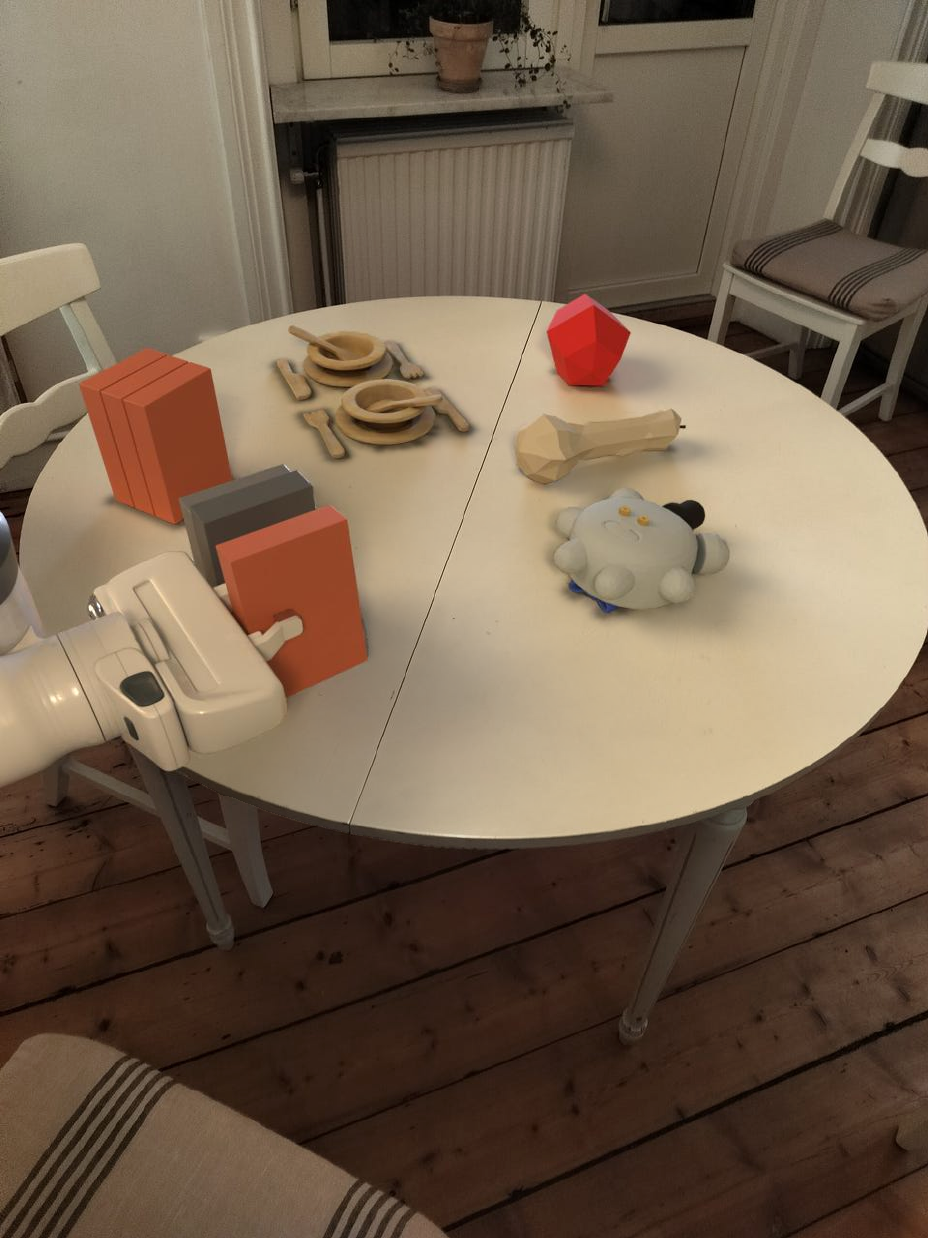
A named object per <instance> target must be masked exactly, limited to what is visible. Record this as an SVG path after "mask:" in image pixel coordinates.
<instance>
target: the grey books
mask: <svg viewBox="0 0 928 1238" xmlns="http://www.w3.org/2000/svg"><path fill="white" fill-rule="evenodd" d="M232 480H233V481H230V482H227V483H224V484H221V485H218V486H215V487H212V488H209V489H206V490H202V491H199V492H196V493H193V494H190V495H187V496H184V497H181V498H179V503H180V507H181V511H182V515H183V519H182V520H183V522H184V526H185V530H186V534H187V538H188V543H189V545H190V550H191V553H192V558H193V562H194V564H195V565H196V566H197V568H198V569H199V571H200V572H201V573H202V575H203V576H204V577H205V579H206V580H207V581H208V583H209V584H210V586H211V587H212V588H214V587H216V586H219V585H222V584H224V583H225V580H224V576H223V572H222V568H221V564H220V561H219V557H218V553H217V549H216V545H219V544H221V543H224V542H227V541H230V540H233V539H235V538H238V537H241V536H244V535H246V534H249V533H252V532H255V531H258V530H260V529H263V528H266V527H269V526H272V525H274V524H277V523H280V522H283V521H286V520H288V519H291V518H294V517H297V516H300V515H302V514H305V513H308V512H311V511H314V510H316V501H315V494H314V493H315V492H314V485H313V484H312V483H311V482H310V481H309V480H308V479H307V478H306V477H305V476H304V475H303V474H302V473H301V472H300V471H299V469H295V470H293V471H291V470H290V469H289V468H288V467H287V466H286V465H285V464H284V463H282V464H278V465H276V466H273V467H269V468H267V469H264V470H260V471H257V472H255V473H251V474H248V475H246V476H242V477H239V478H236V479H232ZM231 614H232V616H233V617H234V614H233V612H232V613H231ZM234 619H235V618H234Z"/></svg>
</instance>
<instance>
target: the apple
mask: <svg viewBox="0 0 928 1238" xmlns="http://www.w3.org/2000/svg"><path fill="white" fill-rule="evenodd" d="M631 334H632V332H631V331H630V330H629V329H628V328H627V327H626V326H625V325H624V324H623V323H622V322H621V321H620V320H619V319H618V318H617V317H616V316H615V315H614V314H613V313H612V312H611V311H610V310H609V309H607V308H606V307H605V306H603V304H600V303H599V302H598V301H596V300H595V299H594V298H593V297H591V296H589V295H588V294H586V293H584V294H581V296H579V297H577V298H575V299H573V300H572V301H570V302H569V303H568V302H567V304H565V305H563V306H562V307H559V308H558V309H556V311H555V313H554V315H553V317H552V319H551V321H550V323H549V326H548V327H547V330H546V335H547V339H548V343H549V347H550V351H551V354H552V359H553V363H554V367H555V370H556V373H557V374H558V375H559V376H560V377H561V378H562V379H563V380H564V381H565V382H566V384H568V385H569V386H602V387H603V386H605V385H606V383H607V382H608V380H609V379H610V377H611V375H612V374H613V372H614V370H615V369H616V367H617V366H618V364H619V363H620V361H621V360H622V357H623V355H624V353H625V349H626V348H627V344H628V342H629V338H630V336H631Z"/></svg>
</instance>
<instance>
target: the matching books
mask: <svg viewBox="0 0 928 1238" xmlns="http://www.w3.org/2000/svg"><path fill="white" fill-rule="evenodd" d="M78 386H79V390H80V393H81V396H82V398H83V402H84V405H85V409H86V411H87V414H88V417H89V421H90V424H91V428H92V430H93V434H94V436H95V439H96V442H97V447H98V449H99V453H100V456H101V459H102V463H103V465H104V468H105V471H106V474H107V477H108V482H109V484H110V487H111V490H112V493H113V497H114V500H115V501H116V502H119V503H122V504H123V505H127V506H129V507H131V508H135V509H136V510H139V511H141V512H144V513H146V514H148V515H151V516H154V517H156V518H157V519H161V520H162V521H166V522H168V523H170V524H173V525H177V524H178V523H180V522H181V521H182V520H184V519H183V515H182V511H181V507H180V503H179V498H181V497H184V496H187V495H190V494H193V493H196V492H199V491H202V490H206V489H209V488H212V487H215V486H218V485H221V484H224V483H227V482H230V481H233V480H234V479H233V475H232V470H231V466H230V465H231V464H230V459H229V455H228V450H227V444H226V439H225V434H224V429H223V424H222V419H221V414H220V409H219V404H218V399H217V393H216V389H215V382H214V379H213V372H212V368H211V367H207V366H205V365H202V364H198V363H195V362H192V361H189V360H186V359H183V358H180V357H178V356H173V355H171V354H167V353H165V352H161V351H158V350H155V349H153V348H152V349H151V348H149V347H146V348H144V349H142V350H140V351H138V352H137V353H135V354H133V355H131V356H129V357H127V358H125V359H123V360H121V361H119V362H117V363H115V364H114V365H112V366H110V367H108V368H106V369H104V370H102V371H100V372H98V373H96V374H94V375H92V376H89V378H86V379H84V380H83V381H81V382H79V383H78Z"/></svg>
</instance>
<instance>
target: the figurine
mask: <svg viewBox="0 0 928 1238" xmlns="http://www.w3.org/2000/svg"><path fill="white" fill-rule="evenodd" d="M705 520H706V511H705V508H704V506H703V505H702V504H701V503H700V502H698V501H697V500H694V499H687V500H684V501H682V502H680V503H678V502H674V501H673V502H668V503H666V504H665V503H664V504H663V505H660V504H657V503H655V502H652V501H648V500H646V499H644V497H643V496H642V494H640V493H639V491H637V490H635V489H633V488H628V487H627V488H626V487H624V488H619V489H617V490H615V491H614V492H613V493H612V494H611V495H610V496H609V497H608V498H606V499H603V500H599V501H597V502H594V503H592V504H590V505H589V506H587V507H585V508H581V507H578V506H568V507H566V508H564V509H563V510H562V511H561V512H560V513H559V514H558V515H557V518H556V529H557V532H558V533H559V534H560V535H561V536H563V538H565V539H567V540H568V541H566V542H565V543H564V542H563V544H561V545H560V546H559V547H558V548H557V549H556V551H555V553H554V557H553V559H554V565H555V566H556V568H557V569H558V570H559V571H561V573H565V574H569V576H570V578H571V581H570V582H569V584H568V588H569V590H571V591H572V592H573V593H584V594H585V595H586V596H588V597H589V598H591V599H592V600H594V601H595V602H596V601H597V602H598V604H599V606H600V607H599V608H600V609H601V610H602V611H603V612H604V613H605V614H607V613H611V612H613V611H616V610H618V609H619V608H626V609H630V610H640V611H641V610H654V609H659V608H662V607H665V606H668V605H671V604H672V603H673V604H682V603H685V602H687V601H688V600H689V599H690V598H692V596H693V594H694V593H695V589H696V580H695V577H694V576H693V574H692V572H694V574H696V575H709V576H711V575H714V574H717V573H719V572H721V571H722V570H723V569H724V568H726V566H727V565H728V563H729V560H730V554H731V551H730V547H729V545H728V543H727V541H726V540H724V538H722V537H721V536H720V535H718V534H715V533H711V532H699V533H697V534H695V532H694V531H695V530H696V529H698V528H700V527H701V525H703V524H704V522H705Z"/></svg>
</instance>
